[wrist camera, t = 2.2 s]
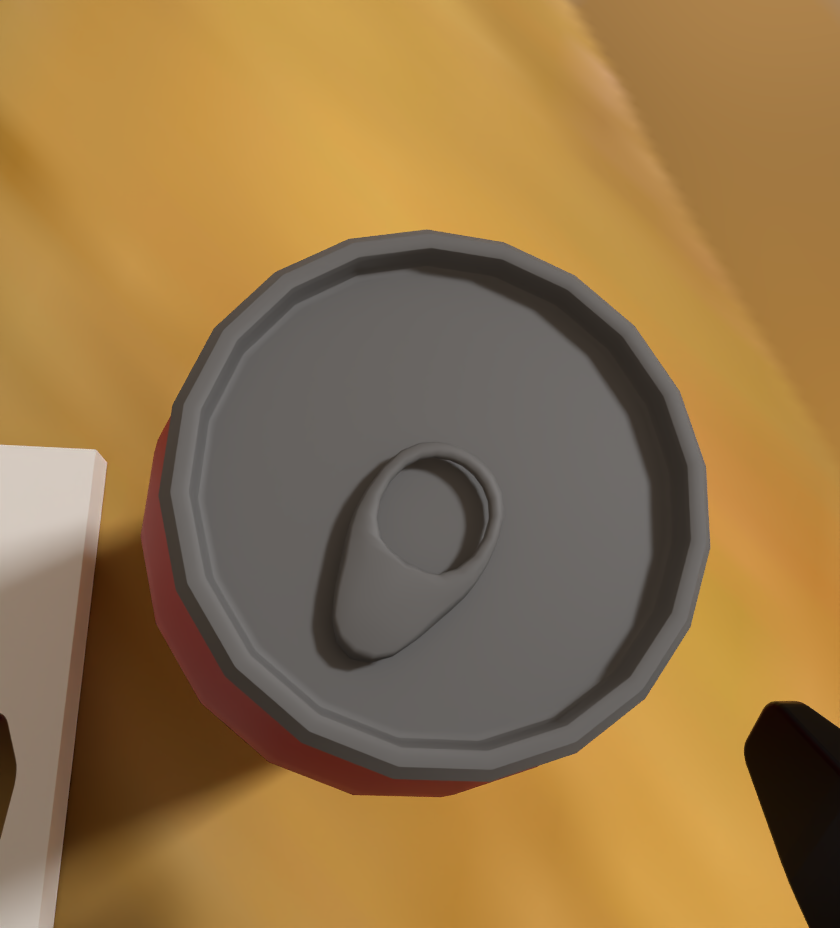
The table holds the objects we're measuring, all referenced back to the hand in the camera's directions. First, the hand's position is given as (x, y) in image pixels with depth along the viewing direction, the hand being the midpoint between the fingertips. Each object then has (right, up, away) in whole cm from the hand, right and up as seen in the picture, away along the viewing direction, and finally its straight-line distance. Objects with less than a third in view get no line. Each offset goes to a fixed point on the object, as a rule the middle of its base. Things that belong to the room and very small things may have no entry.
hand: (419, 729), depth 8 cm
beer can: (-2, 0, +10) cm, 10 cm away
